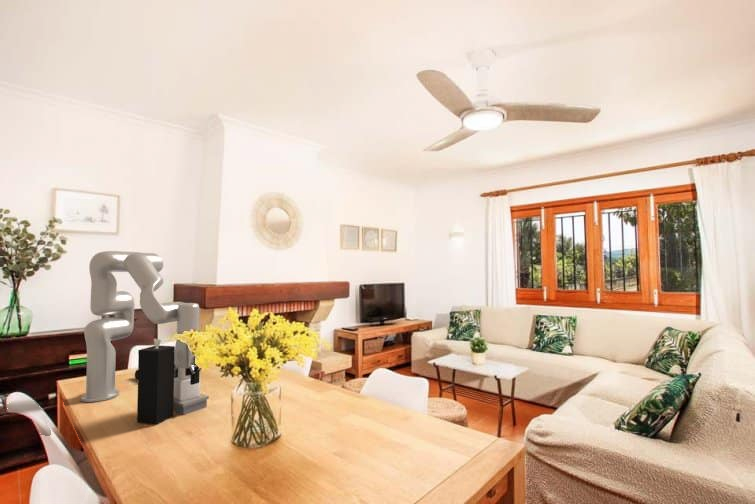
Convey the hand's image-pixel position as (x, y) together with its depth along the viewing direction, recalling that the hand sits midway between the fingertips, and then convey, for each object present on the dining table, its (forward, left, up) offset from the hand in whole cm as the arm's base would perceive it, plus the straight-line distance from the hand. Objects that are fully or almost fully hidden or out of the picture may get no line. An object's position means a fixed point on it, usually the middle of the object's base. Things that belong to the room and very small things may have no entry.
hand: (187, 381), depth 141 cm
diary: (-43, +16, -10) cm, 47 cm away
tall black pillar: (+1, -12, -10) cm, 16 cm away
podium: (0, 0, -10) cm, 10 cm away
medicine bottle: (0, 0, -6) cm, 6 cm away
